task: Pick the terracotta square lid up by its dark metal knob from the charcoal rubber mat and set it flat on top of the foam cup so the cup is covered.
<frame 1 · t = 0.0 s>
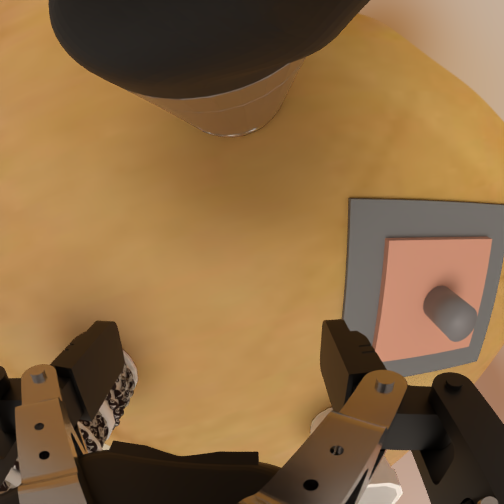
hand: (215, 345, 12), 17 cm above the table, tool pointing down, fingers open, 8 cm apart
mat: (430, 295, 30), on the table
foam cup: (335, 422, 35), on the table
decorative candle: (105, 366, 33), on the table
lid: (433, 298, 29), point 1 cm above the table, touching mat
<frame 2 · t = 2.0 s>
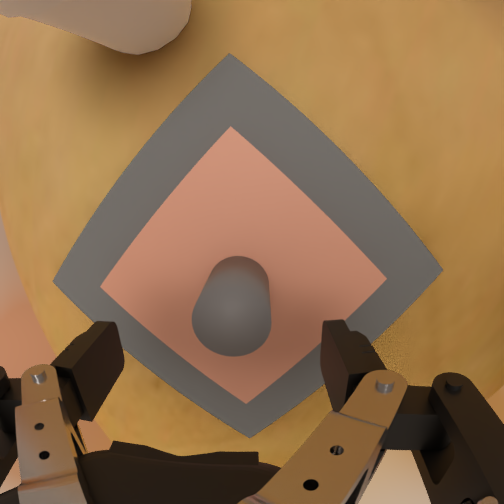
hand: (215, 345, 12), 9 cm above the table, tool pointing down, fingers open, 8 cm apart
mat: (240, 276, 21), on the table
foam cup: (147, 17, 17), on the table
lid: (239, 279, 20), point 1 cm above the table, touching mat
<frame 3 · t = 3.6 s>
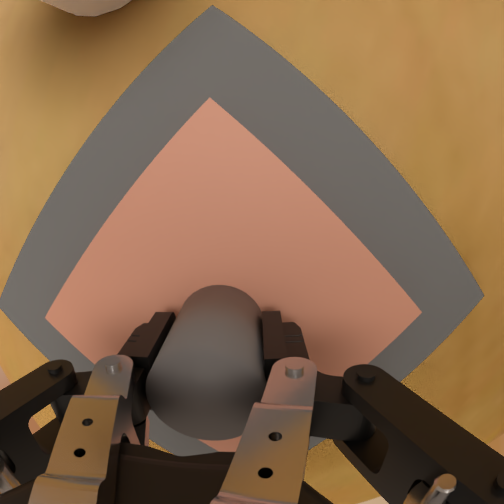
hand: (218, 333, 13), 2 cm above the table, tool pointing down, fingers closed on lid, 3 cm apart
mat: (224, 309, 15), on the table
lid: (223, 314, 14), point 1 cm above the table, touching gripper, mat
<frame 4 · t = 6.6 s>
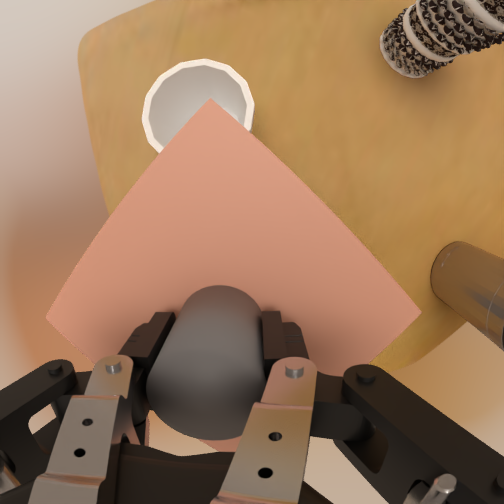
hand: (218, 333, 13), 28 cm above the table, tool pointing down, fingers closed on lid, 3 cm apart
foam cup: (216, 130, 37), on the table
decorative candle: (406, 51, 33), on the table
lid: (223, 314, 14), point 26 cm above the table, touching gripper
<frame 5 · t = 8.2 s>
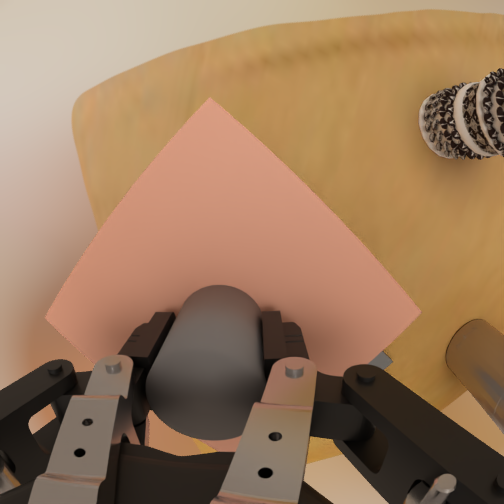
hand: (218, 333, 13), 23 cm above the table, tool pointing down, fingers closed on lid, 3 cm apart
decorative candle: (444, 125, 32), on the table
lid: (223, 314, 14), point 22 cm above the table, touching gripper
when the fingers open (17 cm above the table, at t = 9.7 s): lid drops 2 cm, resting on foam cup.
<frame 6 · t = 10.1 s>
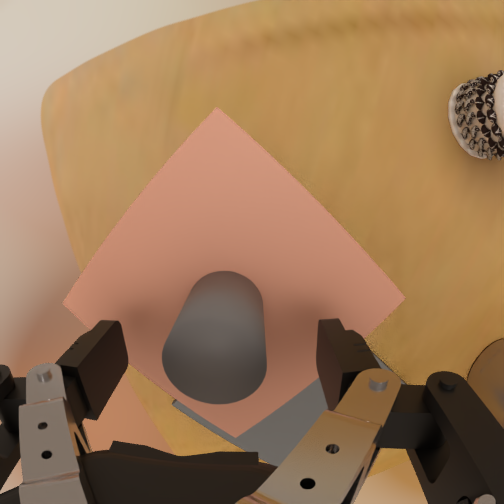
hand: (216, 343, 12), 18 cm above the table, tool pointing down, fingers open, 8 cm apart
mat: (296, 401, 33), on the table
decorative candle: (475, 120, 25), on the table
lid: (226, 298, 16), point 13 cm above the table, touching foam cup
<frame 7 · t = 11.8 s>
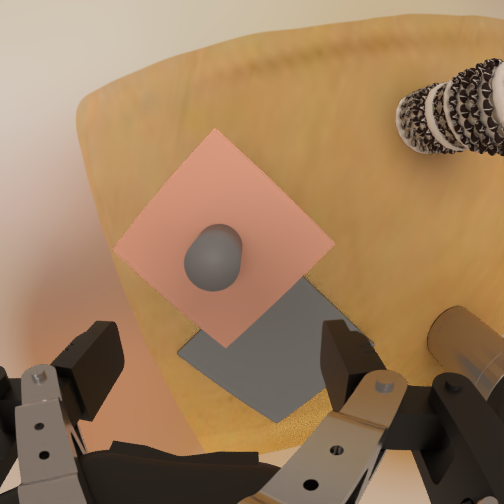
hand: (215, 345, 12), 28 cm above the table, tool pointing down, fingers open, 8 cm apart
mat: (277, 350, 43), on the table
decorative candle: (421, 123, 36), on the table
lid: (220, 243, 26), point 13 cm above the table, touching foam cup
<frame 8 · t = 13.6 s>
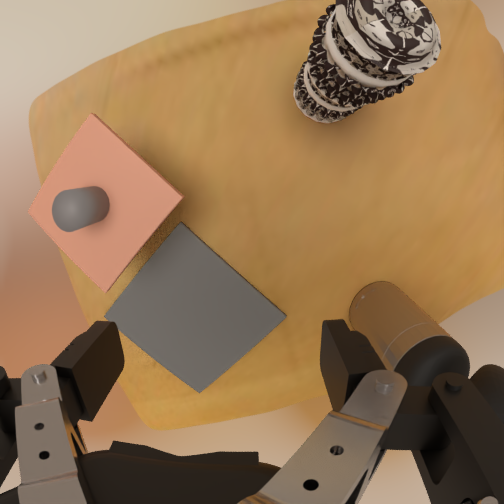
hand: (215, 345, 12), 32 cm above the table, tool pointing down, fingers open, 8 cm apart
mat: (190, 316, 46), on the table
decorative candle: (323, 94, 39), on the table
lid: (98, 203, 29), point 13 cm above the table, touching foam cup
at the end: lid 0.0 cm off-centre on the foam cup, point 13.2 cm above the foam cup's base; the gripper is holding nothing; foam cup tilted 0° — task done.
